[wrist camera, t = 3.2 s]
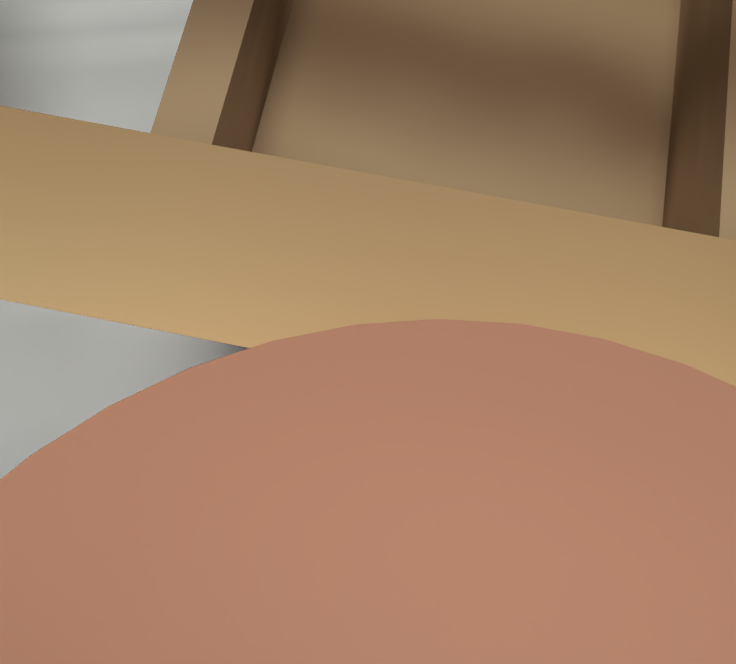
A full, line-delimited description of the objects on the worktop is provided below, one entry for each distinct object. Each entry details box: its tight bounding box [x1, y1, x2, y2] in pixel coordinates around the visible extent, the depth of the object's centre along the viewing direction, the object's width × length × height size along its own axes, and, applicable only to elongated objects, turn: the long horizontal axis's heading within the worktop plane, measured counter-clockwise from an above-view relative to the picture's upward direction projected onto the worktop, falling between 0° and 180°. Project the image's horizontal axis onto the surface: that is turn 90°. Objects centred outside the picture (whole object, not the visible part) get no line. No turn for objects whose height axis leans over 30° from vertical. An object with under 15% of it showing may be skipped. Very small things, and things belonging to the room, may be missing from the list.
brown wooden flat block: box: [0, 106, 736, 387], centre depth 10 cm, size 4×10×12 cm, turn 79°
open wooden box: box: [151, 0, 736, 240], centre depth 15 cm, size 10×12×6 cm
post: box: [0, 319, 736, 664], centre depth 8 cm, size 5×5×13 cm
